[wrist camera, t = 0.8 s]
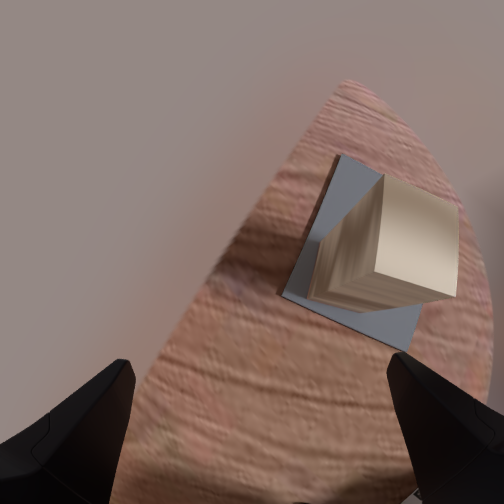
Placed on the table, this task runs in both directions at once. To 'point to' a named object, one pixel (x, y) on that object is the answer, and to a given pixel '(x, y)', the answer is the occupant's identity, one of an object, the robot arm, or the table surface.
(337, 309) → the slate mat
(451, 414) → the robot arm
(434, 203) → the beech block
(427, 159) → the table surface
